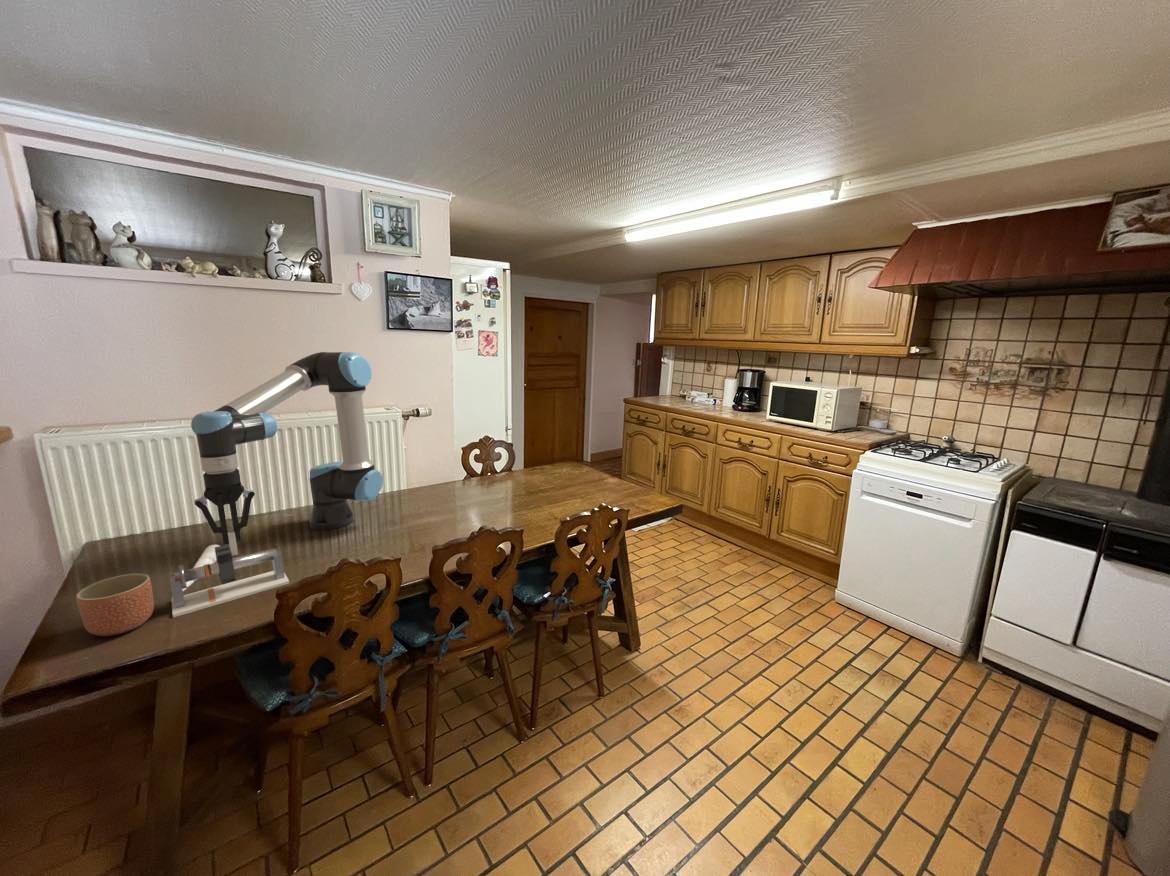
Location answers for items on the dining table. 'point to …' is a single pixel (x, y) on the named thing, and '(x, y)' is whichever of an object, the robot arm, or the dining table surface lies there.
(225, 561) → the collar
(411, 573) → the dining table surface
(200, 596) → the board
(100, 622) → the planter
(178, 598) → the linear slide rail
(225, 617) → the dining table surface
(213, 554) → the unicorn horn
